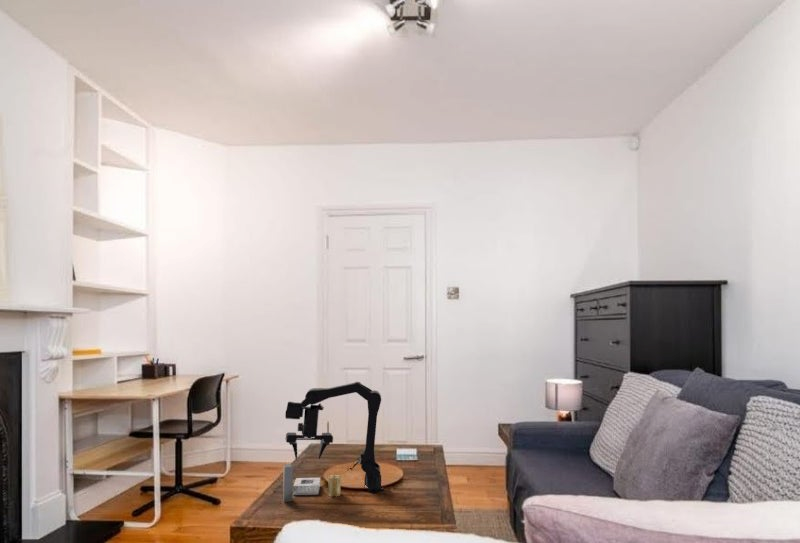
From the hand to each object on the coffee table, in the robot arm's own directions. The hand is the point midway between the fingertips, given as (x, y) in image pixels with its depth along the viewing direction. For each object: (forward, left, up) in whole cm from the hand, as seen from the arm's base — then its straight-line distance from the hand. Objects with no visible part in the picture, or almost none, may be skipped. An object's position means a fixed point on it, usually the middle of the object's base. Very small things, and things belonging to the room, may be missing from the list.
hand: (307, 459), depth 212 cm
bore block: (+1, -1, -13) cm, 13 cm away
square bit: (-2, +11, -13) cm, 17 cm away
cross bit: (-11, -5, -13) cm, 18 cm away
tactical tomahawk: (+11, -39, -13) cm, 42 cm away
